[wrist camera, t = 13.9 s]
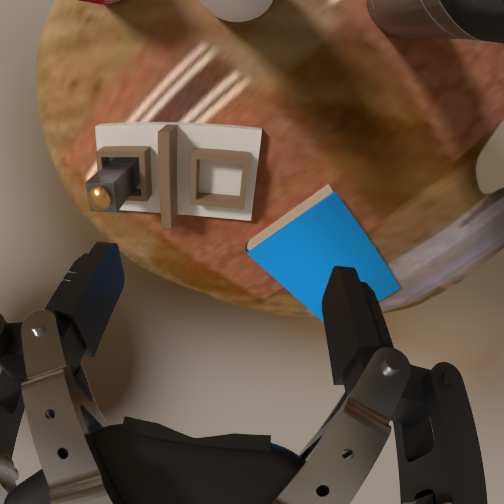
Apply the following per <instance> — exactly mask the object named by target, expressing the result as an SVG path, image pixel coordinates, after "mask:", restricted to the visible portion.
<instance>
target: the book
mask: <svg viewBox="0 0 504 504" xmlns="http://www.w3.org/2000/svg"><path fill="white" fill-rule="evenodd" d="M246 251H247V252H248V255H249V256H251V257H252V258H253V259H254V260H255V261H256V262H257V263H258V264H259V265H261V266H262V267H263V268H264V269H265V270H266V271H267V272H268V273H269V274H271V275H272V276H273V277H274V278H275V279H276V280H277V281H278V282H279V283H281V284H282V285H283V286H284V287H285V288H286V289H287V290H288V291H289V292H291V293H292V294H293V295H294V296H295V297H296V298H297V299H298V300H299V301H301V302H302V303H303V304H304V305H305V306H306V307H307V308H308V309H309V310H311V311H312V312H313V313H314V314H315V315H316V316H317V317H319V318H320V319H321V320H322V321H323V322H324V320H323V315H322V298H323V294H324V292H325V289H326V286H327V283H328V281H329V278H330V275H331V272H332V269H333V267H334V266H345V267H354V268H355V269H356V271H357V273H358V276H359V279H360V282H366V283H367V284H368V285H369V286H370V287H371V288H372V290H373V291H374V292H375V294H376V297H377V300H378V301H380V300H382V299H383V298H385V297H387V296H388V295H390V294H392V293H393V292H395V291H397V290H398V289H400V286H399V284H398V283H397V281H396V279H395V278H394V276H393V275H392V273H391V271H390V270H389V268H388V267H387V265H386V264H385V262H384V260H383V259H382V257H381V256H380V254H379V253H378V251H377V250H376V248H375V247H374V245H373V244H372V242H371V241H370V239H369V238H368V236H367V235H366V234H365V232H364V231H363V229H362V228H361V226H360V225H359V224H358V222H357V221H356V219H355V218H354V217H353V215H352V214H351V212H350V211H349V210H348V208H347V207H346V205H345V204H344V203H343V201H342V200H341V199H340V197H339V196H338V195H337V193H336V192H335V191H334V190H333V189H332V187H331V186H330V185H329V184H328V185H326V186H325V187H323V188H322V189H320V190H319V191H318V192H316V193H315V194H313V195H312V196H311V197H309V198H308V199H306V200H305V201H303V202H302V203H301V204H299V205H298V206H296V207H295V208H294V209H292V210H291V211H289V212H288V213H287V214H285V215H284V216H282V217H281V218H280V219H278V220H277V221H275V222H274V223H273V224H271V225H270V226H268V227H267V228H266V229H264V230H263V231H261V232H260V233H259V234H257V235H256V236H254V237H253V238H252V239H250V240H249V241H248V242H247V244H246Z"/></svg>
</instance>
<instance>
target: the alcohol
mask: <svg viewBox="0 0 504 504" xmlns="http://www.w3.org/2000/svg"><path fill="white" fill-rule="evenodd" d="M198 1H199V2H200V3H201V4H202V5H204V6H205V7H206V8H207V9H208V10H209V11H210V12H211V13H212V14H213V15H214V16H216V17H217V18H220V19H222V20H225V21H229V22H245V21H249V20H252V19H255V18H257V17H259V16H261V15H262V14H263V13H265V12H266V11H267V10H268V8H269V7H270V6H271V4H272V1H273V0H198Z"/></svg>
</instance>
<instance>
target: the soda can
mask: <svg viewBox="0 0 504 504" xmlns="http://www.w3.org/2000/svg"><path fill="white" fill-rule="evenodd" d="M80 1H85V2H91V3H96V4H104V5H111V4H116V3H118V2H121V1H122V0H80Z"/></svg>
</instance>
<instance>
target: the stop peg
mask: <svg viewBox="0 0 504 504" xmlns="http://www.w3.org/2000/svg"><path fill="white" fill-rule="evenodd" d="M139 184H140V167H139V158H114V159H112V160H111V161H110V162H109V163H108V164H106V165H105V166H104V167H103V168H102V169H101V170H99V171H98V172H97V173H96V174H95V175H94V176H93V177H92V178H90V179H89V180H88V181H87V182H86V189H87V195H88V197H87V199H88V203H89V206H90V211H97V212H118V210H119V209H120V208H121V207H122V205H123V204H124V203H125V201H126V200H127V199H128V198H129V196H130V195H131V194H132V193H133V191H134V190H135V189H136V188H137V186H138V185H139Z"/></svg>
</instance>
